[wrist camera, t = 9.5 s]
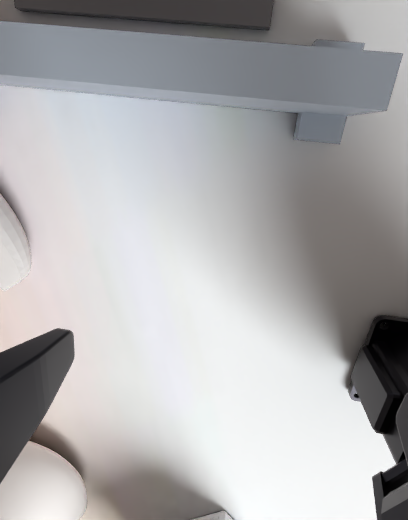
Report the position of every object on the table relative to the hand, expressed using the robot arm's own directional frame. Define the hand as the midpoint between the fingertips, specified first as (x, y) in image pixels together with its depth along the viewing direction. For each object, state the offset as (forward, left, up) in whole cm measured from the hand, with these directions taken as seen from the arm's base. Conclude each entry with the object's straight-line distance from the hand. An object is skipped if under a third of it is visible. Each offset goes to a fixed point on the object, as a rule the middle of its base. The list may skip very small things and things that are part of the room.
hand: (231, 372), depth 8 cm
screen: (+6, -8, -11) cm, 15 cm away
